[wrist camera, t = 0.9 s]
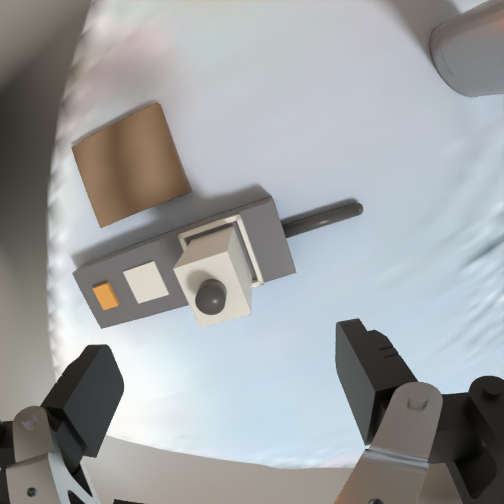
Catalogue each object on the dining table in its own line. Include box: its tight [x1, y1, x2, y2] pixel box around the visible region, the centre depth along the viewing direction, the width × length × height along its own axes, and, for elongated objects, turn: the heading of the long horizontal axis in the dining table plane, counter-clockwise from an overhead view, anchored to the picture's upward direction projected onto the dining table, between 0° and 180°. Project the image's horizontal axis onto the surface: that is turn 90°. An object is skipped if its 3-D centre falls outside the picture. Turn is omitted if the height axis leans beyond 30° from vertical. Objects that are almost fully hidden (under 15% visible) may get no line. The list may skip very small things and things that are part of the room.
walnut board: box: [71, 103, 191, 228], centre depth 27 cm, size 10×9×1 cm
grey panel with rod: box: [72, 197, 363, 329], centre depth 29 cm, size 30×7×3 cm, turn 109°
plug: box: [173, 226, 252, 328], centre depth 24 cm, size 4×5×8 cm
